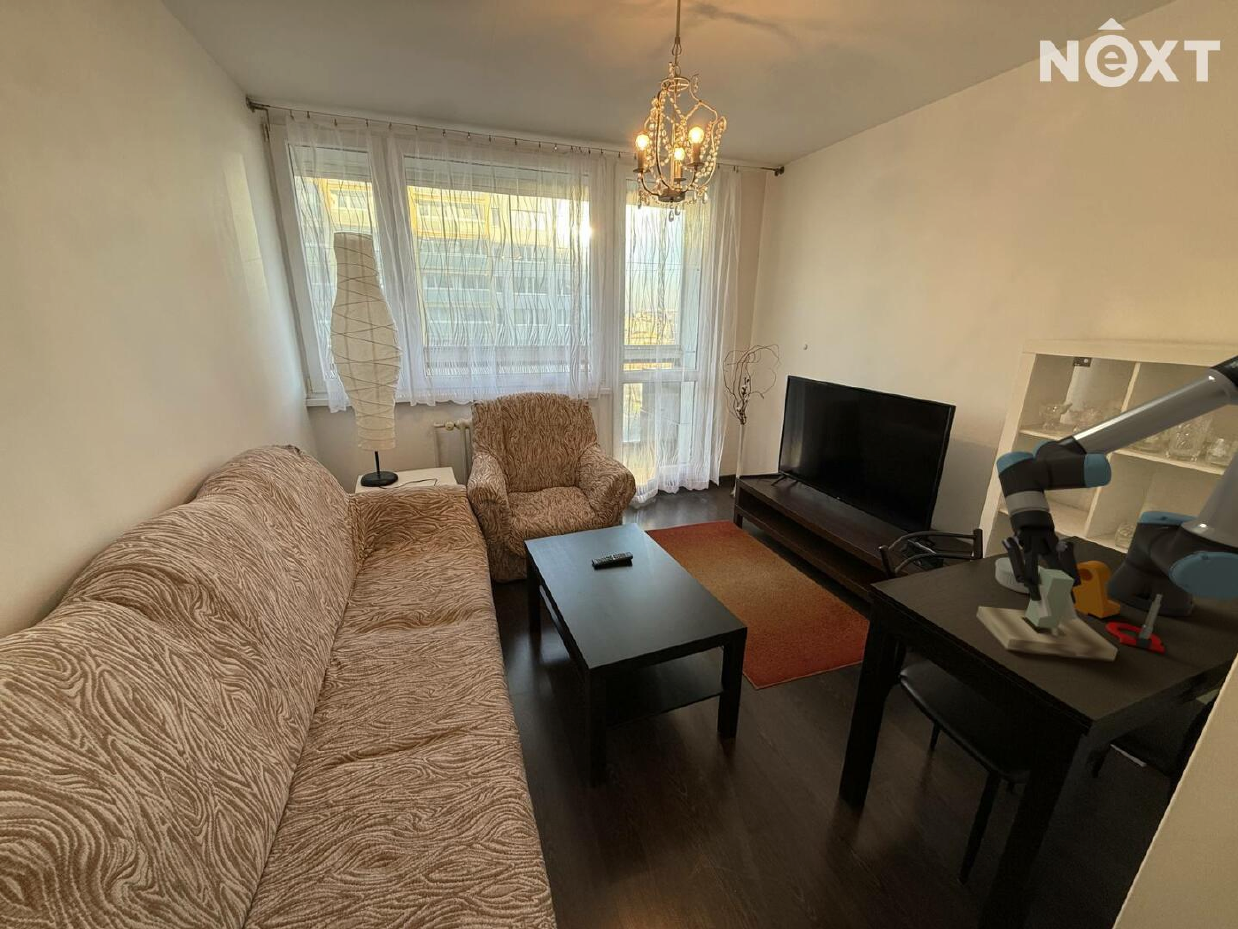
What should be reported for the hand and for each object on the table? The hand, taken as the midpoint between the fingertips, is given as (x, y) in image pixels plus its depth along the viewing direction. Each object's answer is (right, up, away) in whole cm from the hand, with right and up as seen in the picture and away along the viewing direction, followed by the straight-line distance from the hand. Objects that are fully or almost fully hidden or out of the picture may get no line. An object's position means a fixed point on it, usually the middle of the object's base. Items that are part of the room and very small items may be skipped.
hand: (1058, 618), depth 101 cm
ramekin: (+14, 0, +27) cm, 30 cm away
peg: (+1, -2, +5) cm, 5 cm away
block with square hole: (+1, -6, +6) cm, 8 cm away
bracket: (+22, -3, +18) cm, 29 cm away
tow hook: (+22, -7, +6) cm, 24 cm away
